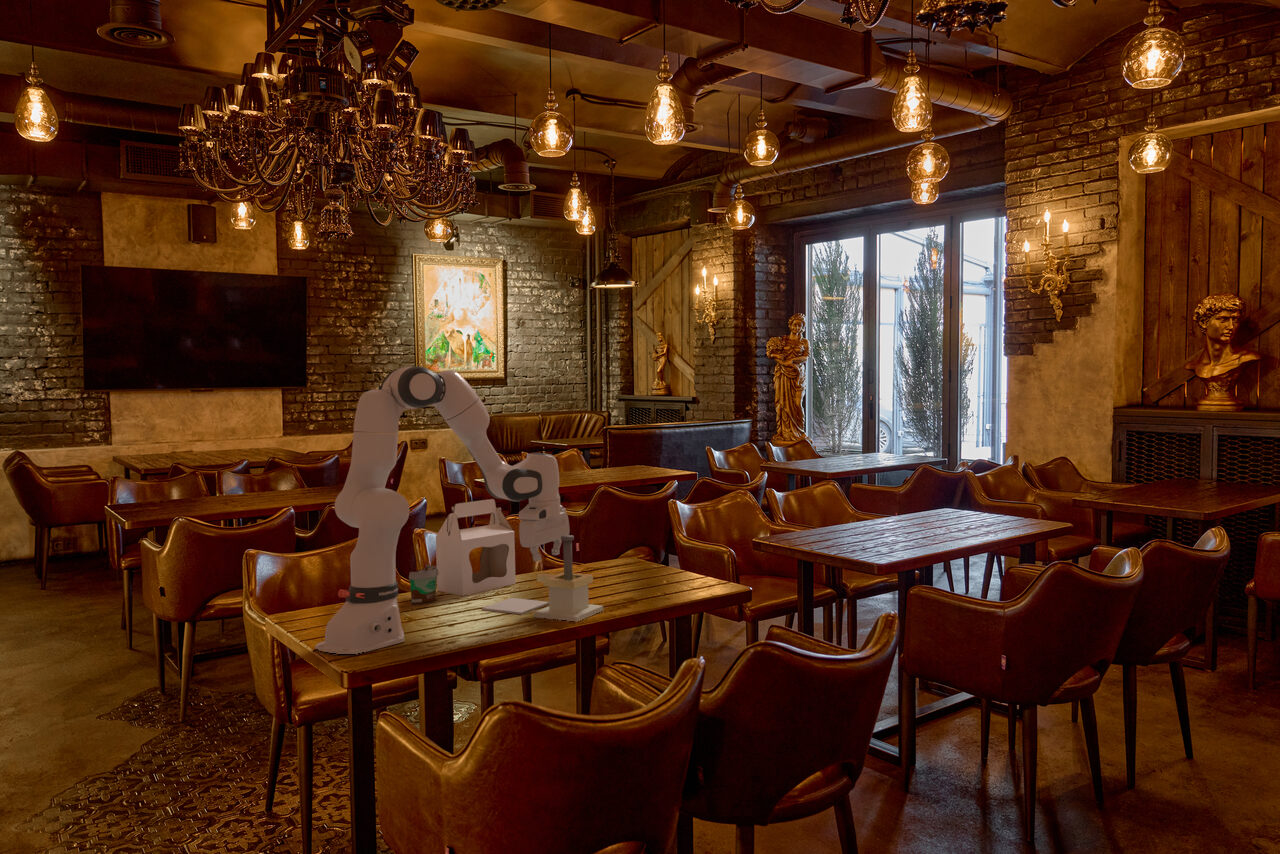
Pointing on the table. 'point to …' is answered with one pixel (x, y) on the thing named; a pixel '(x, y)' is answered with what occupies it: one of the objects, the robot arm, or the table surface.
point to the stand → (568, 594)
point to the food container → (423, 585)
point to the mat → (515, 606)
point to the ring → (565, 580)
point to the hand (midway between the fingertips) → (546, 557)
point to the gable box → (459, 544)
